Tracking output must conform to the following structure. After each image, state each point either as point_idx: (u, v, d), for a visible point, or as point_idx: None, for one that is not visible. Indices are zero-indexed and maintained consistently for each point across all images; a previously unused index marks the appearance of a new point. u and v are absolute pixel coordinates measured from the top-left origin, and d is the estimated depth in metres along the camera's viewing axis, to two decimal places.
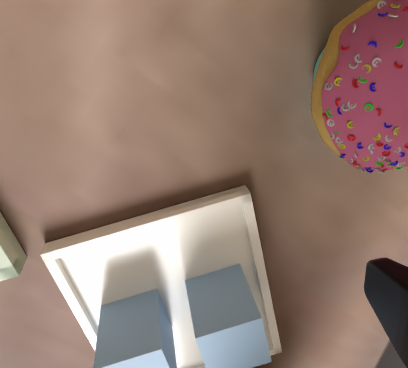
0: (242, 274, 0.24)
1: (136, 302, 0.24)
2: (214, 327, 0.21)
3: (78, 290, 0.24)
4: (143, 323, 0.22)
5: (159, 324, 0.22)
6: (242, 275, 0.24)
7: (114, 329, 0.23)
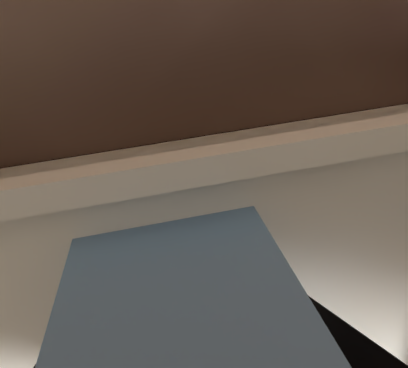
0: None
1: None
2: None
3: None
4: None
5: None
6: None
7: None
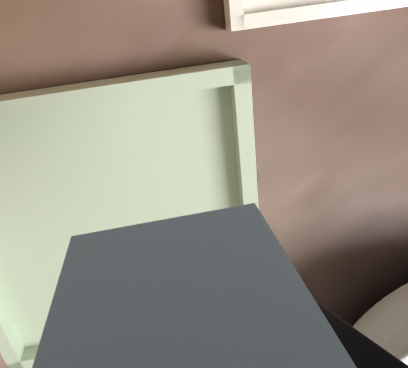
0: (63, 274, 0.07)
1: None
2: None
3: (309, 1, 0.16)
4: None
5: None
6: None
7: None
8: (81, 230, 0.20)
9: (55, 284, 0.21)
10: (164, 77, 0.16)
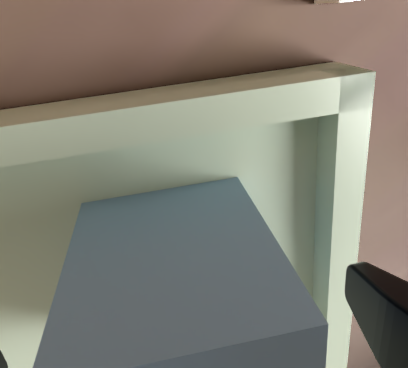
0: None
1: None
2: None
3: None
4: None
5: None
6: None
7: None
8: None
9: None
10: (199, 98, 0.07)
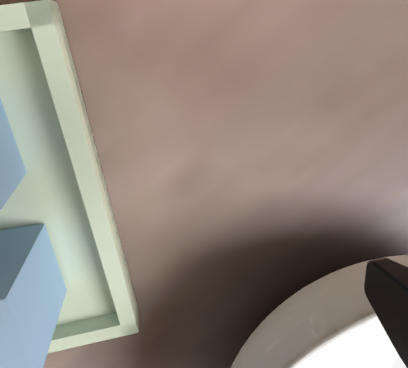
0: None
1: None
2: None
3: None
4: None
5: None
6: None
7: None
8: None
9: None
10: None
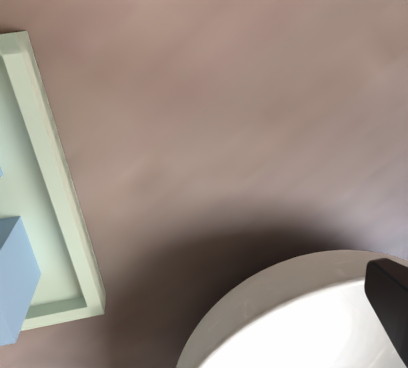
0: None
1: None
2: None
3: None
4: None
5: None
6: None
7: None
8: None
9: None
10: None
